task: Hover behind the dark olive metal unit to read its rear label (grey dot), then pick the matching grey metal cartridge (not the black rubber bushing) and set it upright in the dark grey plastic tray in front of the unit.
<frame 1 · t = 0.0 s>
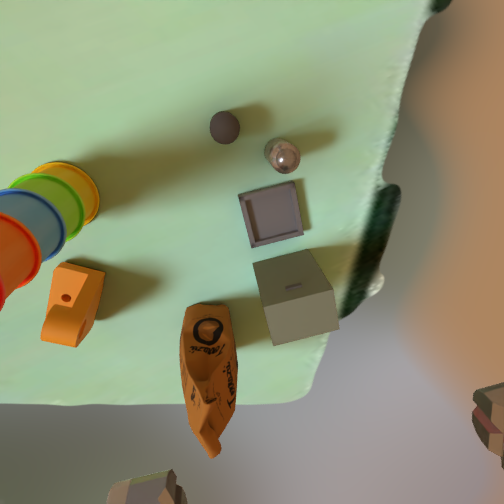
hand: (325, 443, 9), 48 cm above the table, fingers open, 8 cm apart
bracket: (79, 290, 59), on the table
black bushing: (223, 126, 51), on the table
coffee package: (209, 327, 65), on the table
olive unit: (283, 273, 62), on the table
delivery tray: (270, 213, 57), on the table
stacking cups: (65, 195, 53), on the table
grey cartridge: (277, 151, 53), on the table
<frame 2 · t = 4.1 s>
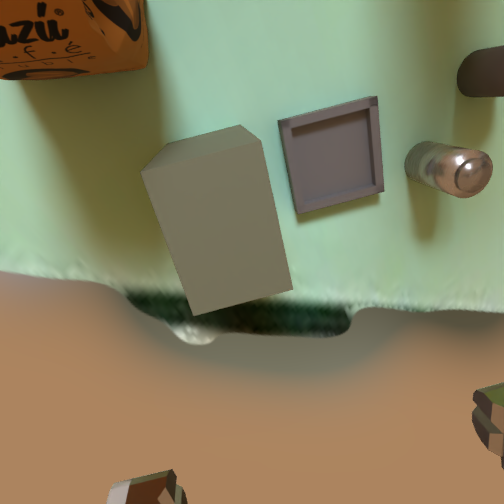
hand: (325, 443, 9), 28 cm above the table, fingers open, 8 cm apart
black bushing: (477, 73, 33), on the table
coffee package: (73, 17, 28), on the table
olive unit: (218, 185, 34), on the table
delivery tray: (330, 156, 34), on the table
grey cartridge: (423, 161, 36), on the table
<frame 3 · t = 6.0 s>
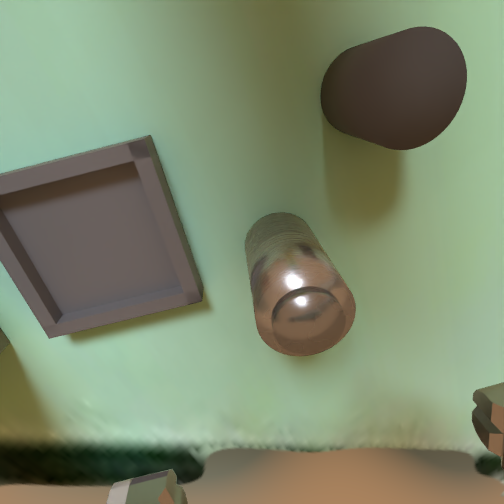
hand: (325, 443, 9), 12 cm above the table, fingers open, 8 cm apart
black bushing: (360, 91, 17), on the table
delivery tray: (100, 238, 19), on the table
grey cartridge: (279, 245, 20), on the table
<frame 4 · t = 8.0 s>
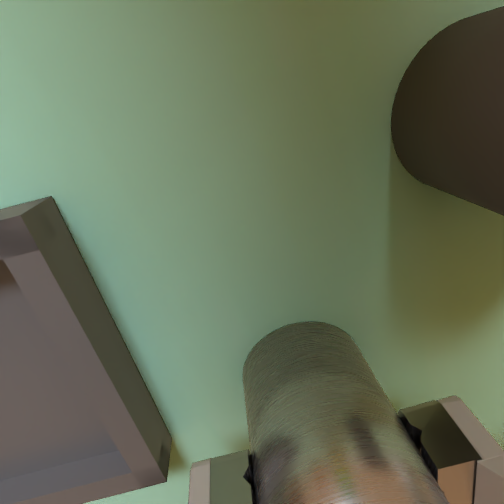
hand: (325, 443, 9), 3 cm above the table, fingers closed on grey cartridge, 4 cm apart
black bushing: (468, 109, 9), on the table
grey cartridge: (302, 371, 12), on the table, touching gripper
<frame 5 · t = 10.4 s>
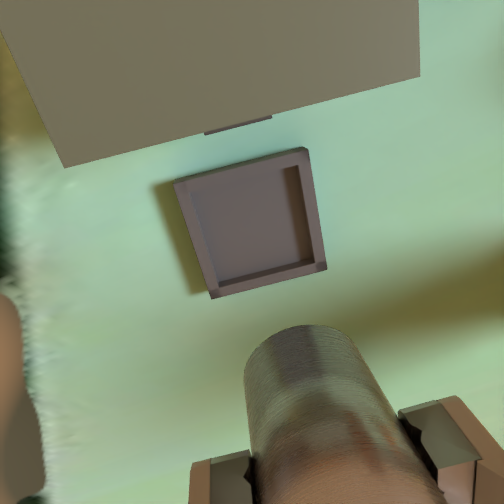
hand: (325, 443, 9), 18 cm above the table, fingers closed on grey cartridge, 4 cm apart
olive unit: (210, 47, 21), on the table
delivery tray: (253, 223, 25), on the table
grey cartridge: (303, 374, 12), point 15 cm above the table, touching gripper
when the fingers open (4 cm above the table, at t = 13.1 s): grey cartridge stays where it is, resting on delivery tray.
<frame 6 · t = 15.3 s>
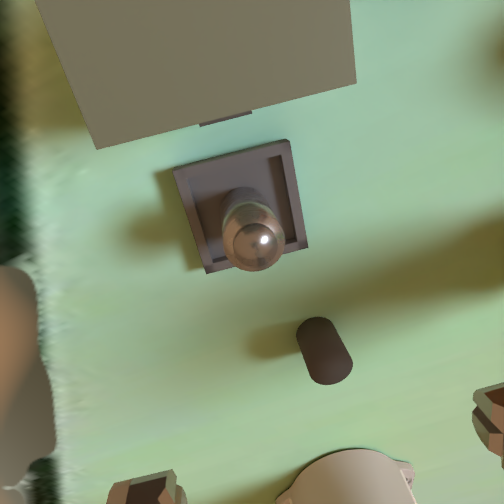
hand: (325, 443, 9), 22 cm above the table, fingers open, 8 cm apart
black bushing: (315, 333, 35), on the table
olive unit: (204, 52, 24), on the table
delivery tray: (243, 206, 29), on the table
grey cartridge: (244, 210, 28), point 1 cm above the table, touching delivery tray
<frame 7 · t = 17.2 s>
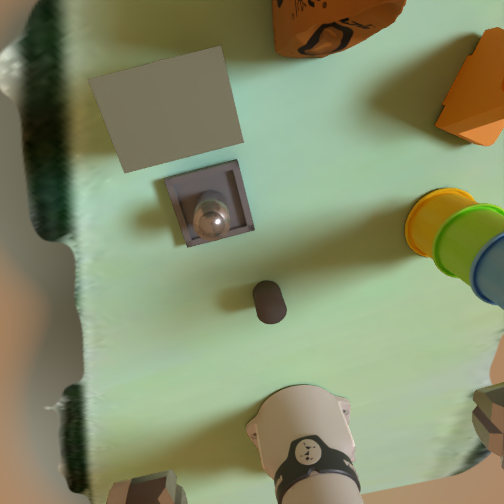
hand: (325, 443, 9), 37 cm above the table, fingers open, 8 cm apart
bracket: (476, 92, 42), on the table
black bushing: (266, 292, 50), on the table
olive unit: (183, 108, 39), on the table
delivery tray: (211, 202, 44), on the table
stacking cups: (438, 222, 49), on the table
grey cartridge: (211, 205, 44), point 1 cm above the table, touching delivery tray
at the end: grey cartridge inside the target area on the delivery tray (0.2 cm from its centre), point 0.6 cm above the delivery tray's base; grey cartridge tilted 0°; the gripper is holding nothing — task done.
